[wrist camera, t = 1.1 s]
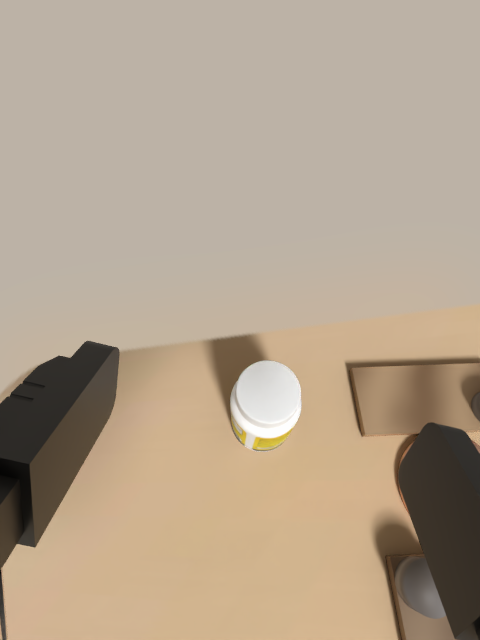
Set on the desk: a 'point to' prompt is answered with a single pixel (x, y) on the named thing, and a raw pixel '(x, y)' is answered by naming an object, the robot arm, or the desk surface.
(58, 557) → the desk surface
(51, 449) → the robot arm
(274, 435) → the supplement bottle
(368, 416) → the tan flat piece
